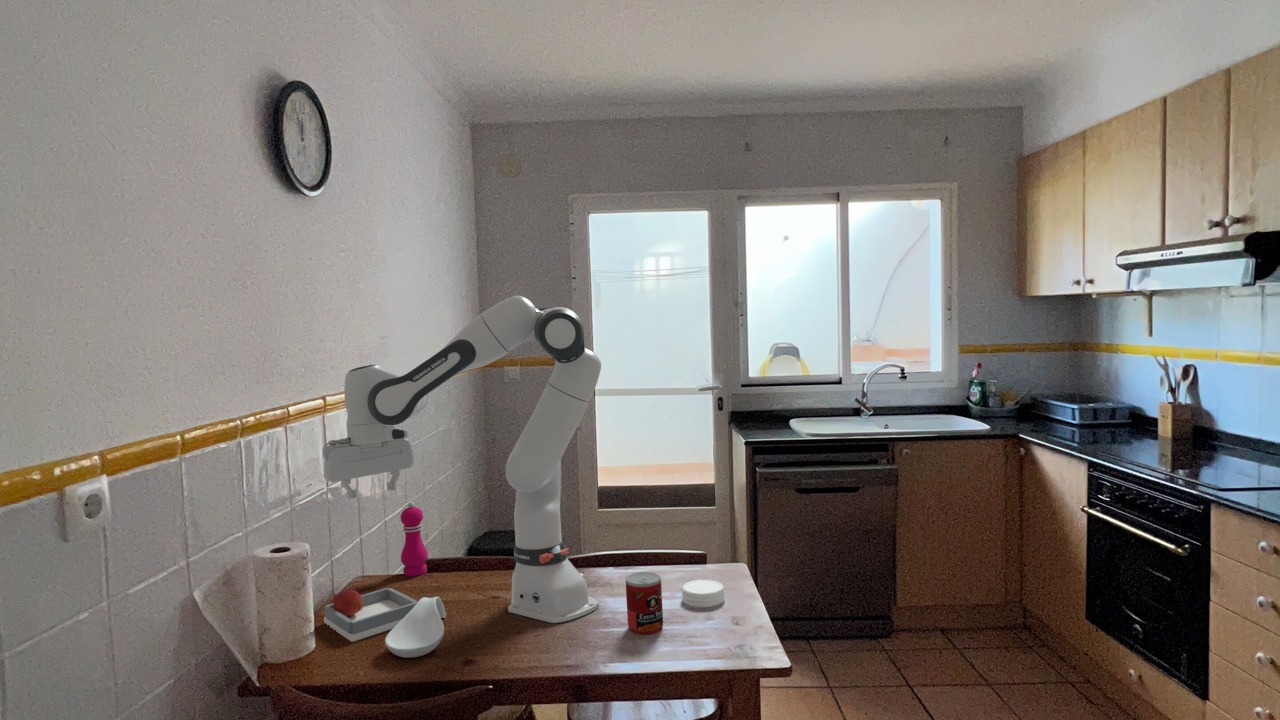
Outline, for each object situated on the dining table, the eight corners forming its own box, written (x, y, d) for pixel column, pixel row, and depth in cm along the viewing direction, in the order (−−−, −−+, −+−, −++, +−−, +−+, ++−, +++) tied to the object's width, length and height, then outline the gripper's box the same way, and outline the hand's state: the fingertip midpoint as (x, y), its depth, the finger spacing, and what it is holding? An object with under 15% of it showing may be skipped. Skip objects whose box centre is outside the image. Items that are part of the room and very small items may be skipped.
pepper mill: (432, 568, 204) (428, 498, 204) (422, 577, 197) (418, 504, 197) (408, 568, 205) (404, 499, 204) (397, 577, 198) (392, 505, 197)
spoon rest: (438, 663, 144) (436, 628, 144) (378, 667, 144) (376, 632, 143) (460, 617, 168) (458, 586, 168) (409, 621, 167) (407, 590, 167)
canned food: (638, 638, 151) (635, 586, 150) (621, 625, 158) (619, 576, 157) (670, 630, 154) (667, 579, 154) (652, 617, 161) (650, 569, 161)
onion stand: (420, 619, 167) (419, 602, 167) (352, 642, 156) (350, 623, 156) (390, 603, 179) (389, 587, 178) (324, 623, 168) (323, 606, 167)
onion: (366, 614, 170) (335, 604, 171) (372, 591, 169) (341, 581, 170) (353, 624, 164) (321, 614, 165) (359, 600, 164) (327, 590, 165)
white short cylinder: (706, 590, 177) (706, 576, 177) (733, 601, 169) (732, 586, 169) (673, 599, 172) (673, 585, 172) (699, 612, 163) (698, 597, 163)
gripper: (327, 442, 158) (332, 504, 159) (414, 429, 172) (418, 487, 173) (316, 440, 163) (321, 501, 163) (402, 428, 177) (406, 484, 177)
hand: (372, 493), depth 168 cm, fingers open, 8 cm apart
